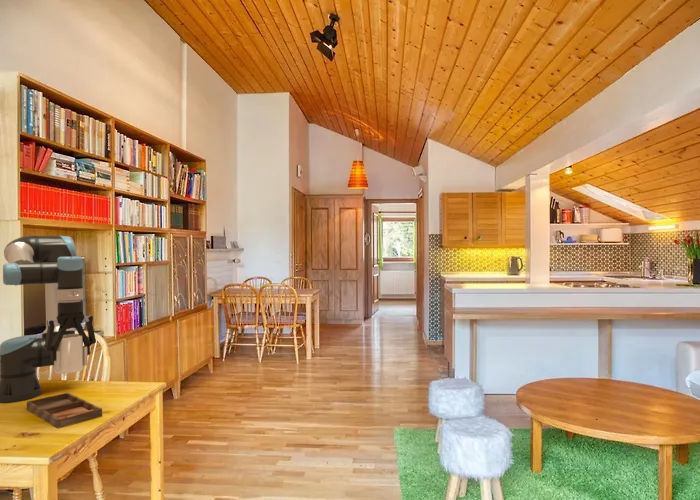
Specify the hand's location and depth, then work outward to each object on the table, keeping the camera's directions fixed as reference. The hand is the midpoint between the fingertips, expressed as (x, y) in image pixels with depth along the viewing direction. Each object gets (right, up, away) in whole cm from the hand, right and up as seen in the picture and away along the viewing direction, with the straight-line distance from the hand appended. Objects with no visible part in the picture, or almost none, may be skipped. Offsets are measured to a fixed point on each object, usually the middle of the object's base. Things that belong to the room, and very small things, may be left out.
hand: (71, 367), depth 157 cm
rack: (-6, -17, +5) cm, 19 cm away
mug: (0, -2, -1) cm, 2 cm away
